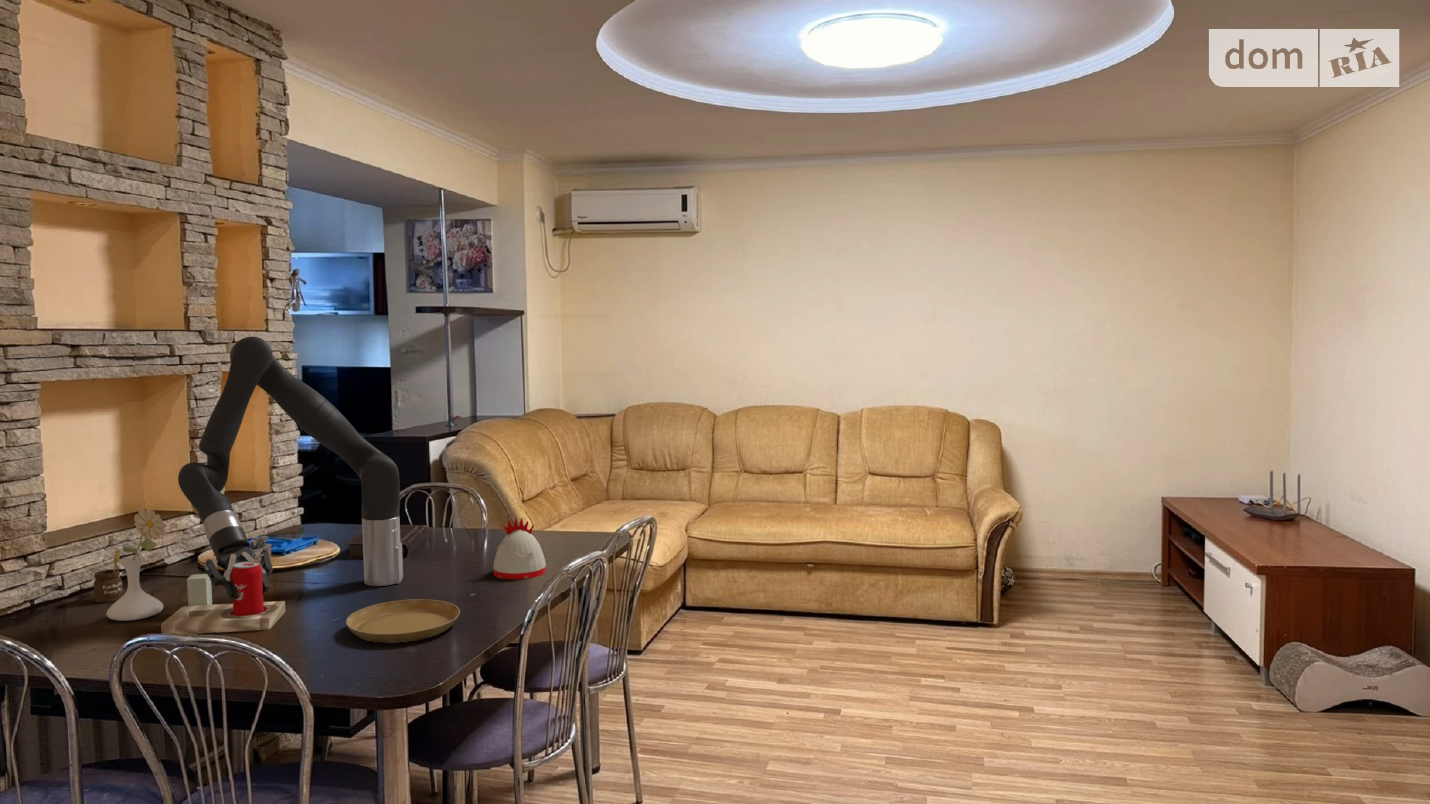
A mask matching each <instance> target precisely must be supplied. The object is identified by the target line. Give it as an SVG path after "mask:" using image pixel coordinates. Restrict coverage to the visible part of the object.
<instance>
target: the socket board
mask: <svg viewBox="0 0 1430 804" xmlns="http://www.w3.org/2000/svg"><path fill="white" fill-rule="evenodd" d="M263 602H264V612H262V613H259V614H255V615H250V616H234V615H233V603H220V604H212V605H197V606H188V605H184V606H181V607H180V608H179V609H178V610H177V611H175V612H174V613H173V614H172V615H170V616H169V617H167V618H166V619H165V620H164V621H163V622H162V623H161V624H160V626H161V627H160V628H161V629H160V630H161V634H162V633H176V634H179V635H194V634H211V633H214V632H215V633H228V632H231V633H232V632H233V633H234V632H248V631H266V630H267V631H268V630H271V628H272V627H273V626H274V625H275V624H276V623H277V622H278V621H279V620H280V618H281V617H282V616H283V615H284V614H285V613H286V600H280V601H279V600H278V601H263ZM215 633H214V634H215Z"/></svg>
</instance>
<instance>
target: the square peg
mask: <svg viewBox="0 0 1430 804" xmlns="http://www.w3.org/2000/svg"><path fill="white" fill-rule="evenodd" d="M186 588H187V603H188V604H187V606H197V605H213V593H212V590H213V589H212V581H211V580H210V578H209V576H208V575H207V573H201V574H200V573H199V574H198V573H196V574H191V575H190V576H189V577H188V578H186Z"/></svg>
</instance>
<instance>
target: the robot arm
mask: <svg viewBox="0 0 1430 804" xmlns="http://www.w3.org/2000/svg"><path fill="white" fill-rule="evenodd" d="M229 362H230V366H229V370H228V375H227V378H226V381H225V384H224V388H223V390H222V392H221V394H220V396H219V398H218V400H217V403H216V405H215V406H214V408H213V410H212V413H210V417H209V419H208V420H207V423H206V425H205V429H204V431H203V434H202V436H201V438H200V440H199V443H198V449H199V451H200V452H201V453H203V454H205V456H206V464H205V463H201V462H200V463H199V462H194V461H193V462H188V463H186V464H184V465H183V466H182V467H181V468H180V470H179V472H178V476H177V480H178V481H177V482H178V486H179V489H180V490H181V492H182V493H183V494H184V496H185V497H186V499H187V500H188V502H189V503H190V504H191V505H192V507H194V508H195V510H196V511H197V513H198V516H199V517H200V520H201V524H202V525H203V528H204V533H205V536H206V539H207V541H208V543H209V545H210V548H211V551H212V553H213V555H214V557H215V559H212V558H211V559H210V558H207V559H206V560H205V563H204V565H203V570H204V572H205V574H207V575H208V576H209V578H210V580H211V584H212V585H213V586H214V587H219V586H222V587H224V590H225V592H226V594H227V596H228V598H229V599H231V600H232V601H233V600H235V599H237V597H238V591H237V589H236V587H235V584H234V583H233V581H232V575H231V572H232V570H233V567H234V564H236V563H239V562H245V561H255V560H254V557H256V558H257V559H258V561H261V565H262V567H261V568H262V580H263V594H267V593H268V591H269V590H270V587H271V584H270V581H269V579H268V576H270V575H271V573H272V572H273V564H272V559H271V560H270V557H269V553H268V550H267V549H263V550H262V551H259V552H255V551H254V550H252V549H251V548H252V547H251V543H250V541H249V539H248V537H247V534H246V532H245V530H244V528H243V526H242V525H243V524H242V523H241V521H240V519H239V517H238V515H237V514H236V512H235V510H234V507H233V506H232V503H231V501H230V499H229V498H228V496H227V495H225V494H224V493H222V490H223V489H224V488H225V487H226V485H227V481H228V478H229V469H230V468H229V467H230V459H231V458H230V457H231V451H232V449H233V446H234V444H235V442H236V439H237V436H238V434H239V431H240V428H241V425H242V424H243V423H242V422H243V420H244V416H245V413H246V411H247V408H248V405H249V403H250V400H251V398H252V395H253V393H254V391H255V390H256V387H257V386H258V387H259V388H261V390H263V391H264V392H265V393H267V395H269V396H270V397H271V398H272V399H273V400H274V401H275V403H276V404H277V405H278V406H279V407H280V409H282V410H283V412H284V413H285V414H286V415H287V416H288V417H289V418H290V419H291V420H292V421H294V423H296V425H298V426H299V427H300V429H302V430H303V431H304V432H305V433H306V434H307V435H308V436H310V437H311V438H312V439H314V440H315V441H316V442H318V443H319V444H320V445H322V446H323V447H325V448H326V449H328V450H330V451H332V452H333V453H334V454H336V455H337V456H338V457H340V458H341V459H342V460H343V461H344V462H346V463H347V465H348V466H349V467H350V468H351V469H352V471H354V472H355V474H356V475H357V476H358V477H359V478H360V482H361V527H362V528H361V529H362V531H361V532H363V558H362V559H363V581H364V584H365V585H366V586H371V587H382V586H383V587H384V586H390V585H396V584H397V585H398V584H400V583H401V582H402V580H403V579H404V567H403V555H402V543H401V542H400V525H401V524H400V522H401V521H400V507H401V493H400V492H401V486H400V482H401V481H400V472H399V471H400V470H399V467H398V466H397V464H396V463H395V461H394V460H393V459H392V458H391V457H389V456H388V455H386V454H385V453H383V452H382V451H380V450H379V449H377V448H376V446H374V445H372V443H370V442H369V441H367V439H365V438H364V437H363V436H362V435H361V434H359V432H358V431H357V430H356V428H355V427H354V426H353V425H352V423H351V422H349V420H348V419H347V418H346V417H345V415H343V414H342V413H341V412H340V411H339V410H338V408H336V407H335V406H334V404H332V403H331V402H330V401H329V400H328V399H326V398H325V396H324V395H322V394H320V393H319V392H318V391H317V390H315V389H314V388H313V387H311V386H309V385H308V384H306V383H305V382H303V381H302V380H301V379H300V378H297V377H296V376H294V375H293V374H292V373H291V372H290V371H289V370H288V369H286V368H285V366H284V365H283V364H281V362H280V361H279V360H278V359H277V358H276V356H274V354H273V350H272V347H271V345H270V344H269V343H268V342H267V341H266V340H264V339H263V338H262V337H261V338H260V337H257V336H247V337H243V338H240V339H239V340H238V341H236V342H235V344H234V345H232V347H231V349H230V352H229ZM217 567H220V568H221V569H223V570H224V573H223V577H222V575H221V573H220V572H219V570H218V568H217ZM271 571H272V572H271ZM270 572H271V573H270Z"/></svg>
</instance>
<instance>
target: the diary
mask: <svg viewBox="0 0 1430 804" xmlns="http://www.w3.org/2000/svg"><path fill="white" fill-rule="evenodd" d="M427 538H428V528H427V525H421V524H419V525H417V524H414V525H413V524H400V542H401V543H402V556H404V555H405V554H406V556H405V558H408V557H409V556H410V555H411V554H412V553H413V552H414V551H415V550H416V549H417V548H418V547H419V546H420V545H421V544H422V542H423V541H425V540H426V539H427ZM344 545H349V555H348V556H346V557H345V559H346V560H347V559H355V560H356V559H363V531H361V533H359V534H357V535H355V536H354V537H352V538H349V540H347V541H346V542H345V543H344Z"/></svg>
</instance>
